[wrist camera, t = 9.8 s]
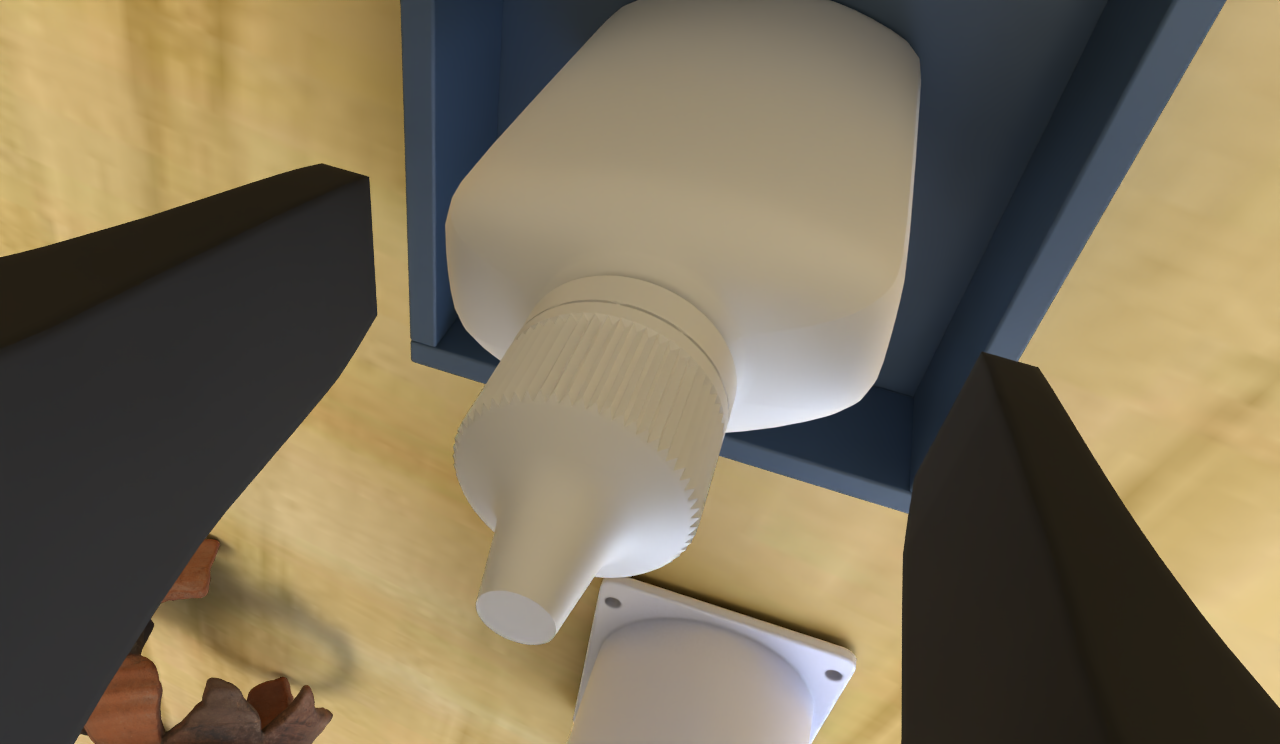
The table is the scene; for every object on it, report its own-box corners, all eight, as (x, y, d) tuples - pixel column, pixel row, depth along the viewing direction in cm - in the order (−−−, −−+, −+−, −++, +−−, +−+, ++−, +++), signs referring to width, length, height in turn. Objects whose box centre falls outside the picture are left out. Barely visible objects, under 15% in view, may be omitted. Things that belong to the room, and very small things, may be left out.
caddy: (930, 408, 20) (926, 521, 18) (476, 275, 21) (409, 362, 19) (1298, -306, 12) (1398, -292, 9) (499, -465, 13) (383, -494, 10)
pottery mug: (277, 515, 31) (247, 769, 28) (387, 575, 40) (375, 776, 36) (-27, 552, 33) (-95, 799, 29) (141, 602, 41) (106, 798, 37)
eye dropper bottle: (805, 246, 18) (660, 839, 9) (575, 81, 17) (160, 557, 8) (963, 77, 15) (982, 696, 6) (698, -132, 14) (270, 242, 5)
